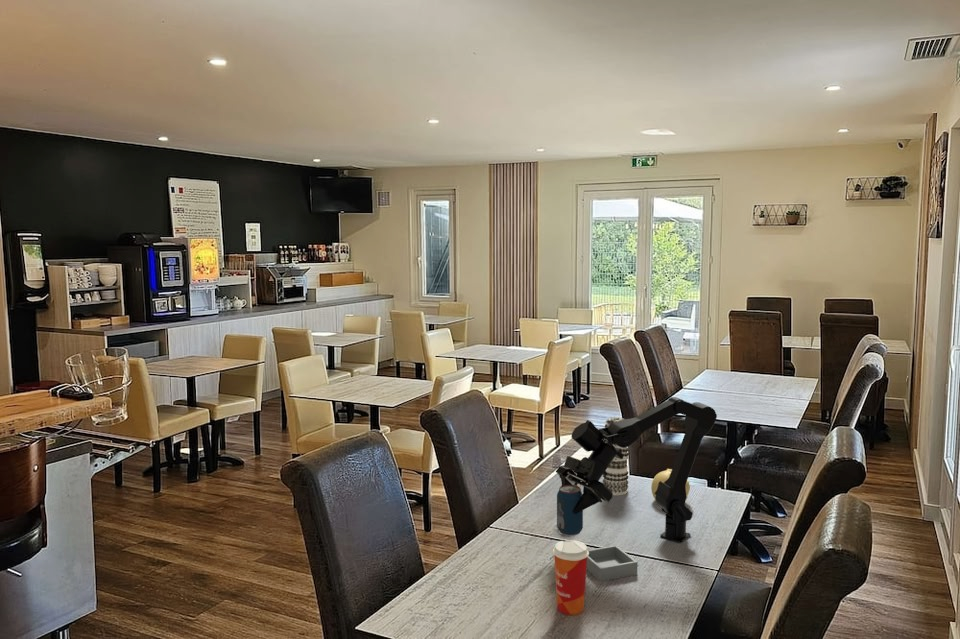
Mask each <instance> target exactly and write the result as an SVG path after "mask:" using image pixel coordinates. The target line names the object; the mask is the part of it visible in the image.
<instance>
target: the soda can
mask: <svg viewBox="0 0 960 639" xmlns="http://www.w3.org/2000/svg"><path fill="white" fill-rule="evenodd" d="M582 495H583V491H582V488H581V489H580V487H578V486H575V485H564V486H562V485H561V486H559V488H558V492H557V493H556V528H557V530H558V531H559V533H560V534H562V535H564V536H569V537H571V536H573V537H574V536H578V535H580V533H581V532H582V531H583V528H584V510H583V511H581V512H579V513H577V514H574V513H573V510H574V508H575V506H576V505H577V503H578V501H579V500H580V498H581V496H582Z"/></svg>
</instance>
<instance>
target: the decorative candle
mask: <svg viewBox="0 0 960 639" xmlns="http://www.w3.org/2000/svg"><path fill="white" fill-rule="evenodd" d="M624 419H625V418H624V417H620V416H610V417H608V418H607V419H606V421H604V422H603V423H604V428H605V427H608V426H609V425H610V424H612V423H614V422H617V421H620V420H624ZM603 440H604V441H605V442H606V443H610V442H608V441H606V440H605V439H603ZM611 444H612V443H611ZM612 445H613V446H614V447H615V448H620V449H622V454H623V459H619V458H616V457H614V459H613V460H612V462H611V463H610V465H609V466H608V468H607V469H606V472H607V473H608V474H607V475H606V476H604V475H602V477H603V479H602V483H604V484H605V485H606V486H607V487H608V488H609V489H610V490H611V491H612V492H613V496H623V495H622V494H625V495H626V493H627V492H629V490H628V489H629V480H628V479H629V467H628V459H629V456H630V453H629V452H630V449H629V447H626V448H623V447H619V446H618V445H616V444H612ZM627 494H628V493H627Z"/></svg>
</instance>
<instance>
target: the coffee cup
mask: <svg viewBox="0 0 960 639" xmlns="http://www.w3.org/2000/svg"><path fill="white" fill-rule="evenodd" d="M588 550H589V549H588V546H587V545H586V544H585V543H583V542H582V541H579V540H574V539H573V540H565V541H564V540H560V541H558V542H556V544H555V545H554V548H553V550H552V554H553V555H554V556H553V558H554V570H555V571H554V574H555V588H556V589H555V592H556V604H557V605H556V606H557V611H559V612H560V613H561V614H563V615H566V616H567V615H568V616H576V615H580V614H582V613H583V611H584V608H585V606H584V605H585V597H586V596H585V595H586V594H585V593H586V582H587V581H586V579H587V569H586V568H587V556H588V555H589V551H588Z"/></svg>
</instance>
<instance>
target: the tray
mask: <svg viewBox="0 0 960 639" xmlns="http://www.w3.org/2000/svg"><path fill="white" fill-rule="evenodd" d="M587 550H588V551H589V555H588V556H587V568H586V571H587V570H588V572H589V573H591V574H592V576H594V577H595V578H596V579H597V580H598V581H600V582H603V581H609V580H614V579H620V578H625V577H630V576H635V575H638V562H639V561H637V560H636V559H634V558H633V557H632V556H631V555H629V554H628V553H627V552H625V551H624V550H623V549H621V548H620V547H619V546H618V545H611V546H610V545H609V546H605V547H604V546H603V547H598V548H593V549H592V548H591V549H587Z"/></svg>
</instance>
